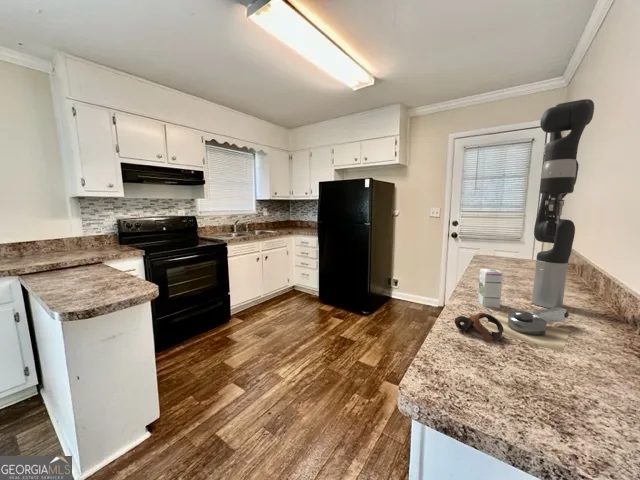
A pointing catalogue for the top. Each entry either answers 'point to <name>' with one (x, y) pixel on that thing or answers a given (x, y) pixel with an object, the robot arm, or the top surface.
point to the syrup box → (490, 288)
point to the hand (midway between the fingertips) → (550, 235)
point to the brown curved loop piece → (480, 326)
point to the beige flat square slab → (551, 339)
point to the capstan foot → (535, 320)
